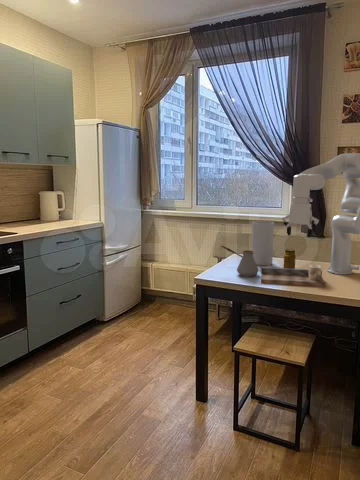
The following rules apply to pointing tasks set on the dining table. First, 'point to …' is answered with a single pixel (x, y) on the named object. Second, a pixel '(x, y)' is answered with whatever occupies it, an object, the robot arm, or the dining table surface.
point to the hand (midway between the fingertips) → (299, 236)
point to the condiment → (289, 259)
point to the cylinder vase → (262, 242)
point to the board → (289, 277)
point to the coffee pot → (246, 263)
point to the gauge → (314, 272)
